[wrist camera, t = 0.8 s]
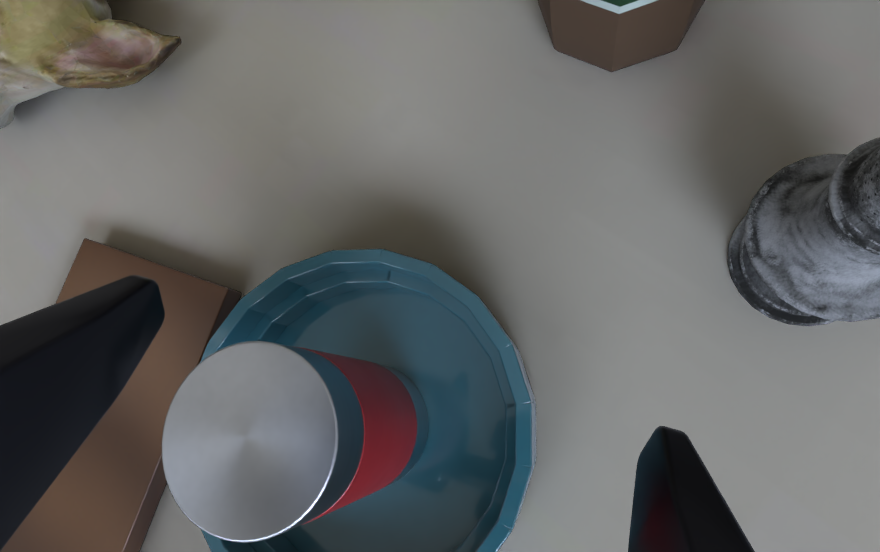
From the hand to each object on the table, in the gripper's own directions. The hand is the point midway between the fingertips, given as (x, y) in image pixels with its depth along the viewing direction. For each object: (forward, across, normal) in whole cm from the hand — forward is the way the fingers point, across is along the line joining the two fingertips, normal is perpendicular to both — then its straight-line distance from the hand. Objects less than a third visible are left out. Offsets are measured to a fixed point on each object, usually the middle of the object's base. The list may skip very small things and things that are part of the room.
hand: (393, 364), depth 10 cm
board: (+6, +16, +18) cm, 25 cm away
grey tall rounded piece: (+15, -12, +5) cm, 20 cm away
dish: (+8, +2, +14) cm, 16 cm away
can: (+8, +2, +14) cm, 16 cm away
